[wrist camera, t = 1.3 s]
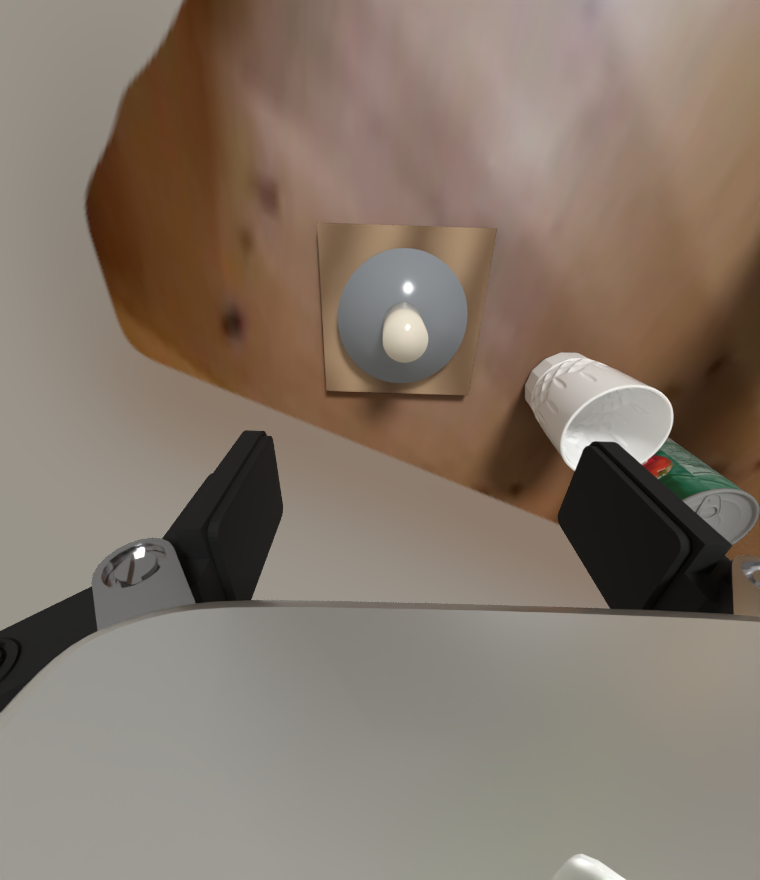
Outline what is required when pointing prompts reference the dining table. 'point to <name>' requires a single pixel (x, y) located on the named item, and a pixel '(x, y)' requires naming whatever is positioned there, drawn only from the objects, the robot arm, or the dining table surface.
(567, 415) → the white cup
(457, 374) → the cork mat
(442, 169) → the dining table surface
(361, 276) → the lid
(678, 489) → the canned tomato
